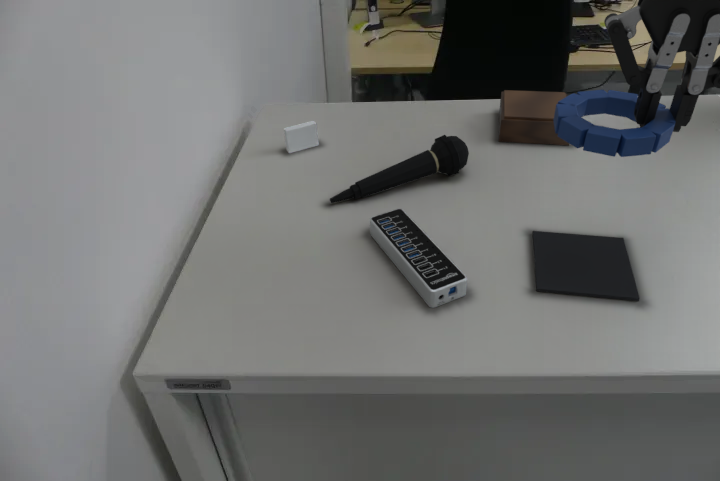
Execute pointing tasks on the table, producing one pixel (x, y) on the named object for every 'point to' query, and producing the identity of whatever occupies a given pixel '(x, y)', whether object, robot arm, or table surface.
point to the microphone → (412, 168)
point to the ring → (604, 137)
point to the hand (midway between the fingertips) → (657, 126)
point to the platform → (529, 117)
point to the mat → (583, 266)
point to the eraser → (301, 136)
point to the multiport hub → (418, 258)
